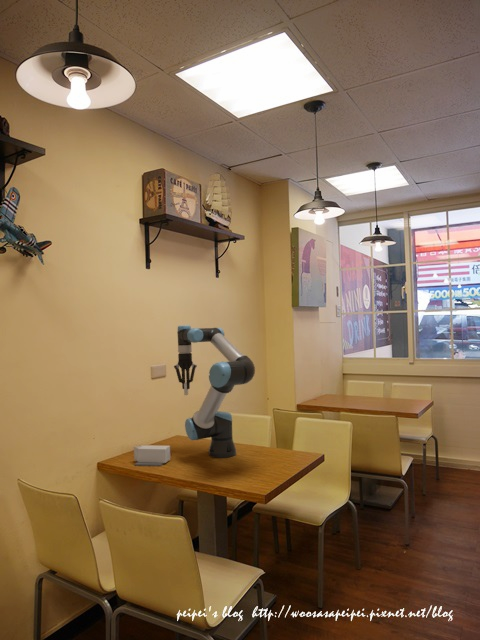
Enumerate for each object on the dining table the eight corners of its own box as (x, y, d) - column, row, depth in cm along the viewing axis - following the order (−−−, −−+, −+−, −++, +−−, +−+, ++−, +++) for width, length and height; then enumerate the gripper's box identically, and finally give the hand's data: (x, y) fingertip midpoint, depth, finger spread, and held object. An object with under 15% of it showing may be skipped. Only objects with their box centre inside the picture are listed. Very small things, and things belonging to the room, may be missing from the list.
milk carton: (165, 449, 236) (131, 448, 240) (165, 463, 236) (131, 462, 240) (170, 445, 243) (136, 445, 247) (170, 459, 243) (137, 458, 247)
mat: (167, 459, 246) (167, 457, 246) (160, 466, 234) (160, 464, 234) (142, 459, 248) (142, 457, 248) (134, 465, 236) (134, 464, 236)
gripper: (197, 352, 261) (199, 393, 261) (175, 352, 263) (177, 394, 263) (194, 352, 254) (195, 395, 253) (171, 353, 256) (173, 396, 255)
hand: (186, 394), depth 258 cm, fingers closed
